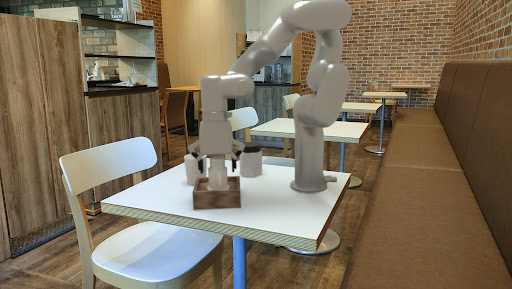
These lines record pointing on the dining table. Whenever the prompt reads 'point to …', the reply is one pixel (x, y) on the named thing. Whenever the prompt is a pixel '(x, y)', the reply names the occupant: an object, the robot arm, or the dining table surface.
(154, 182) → the dining table surface
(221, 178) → the downlight
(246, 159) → the jar
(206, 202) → the walnut stand
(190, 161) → the white cup
